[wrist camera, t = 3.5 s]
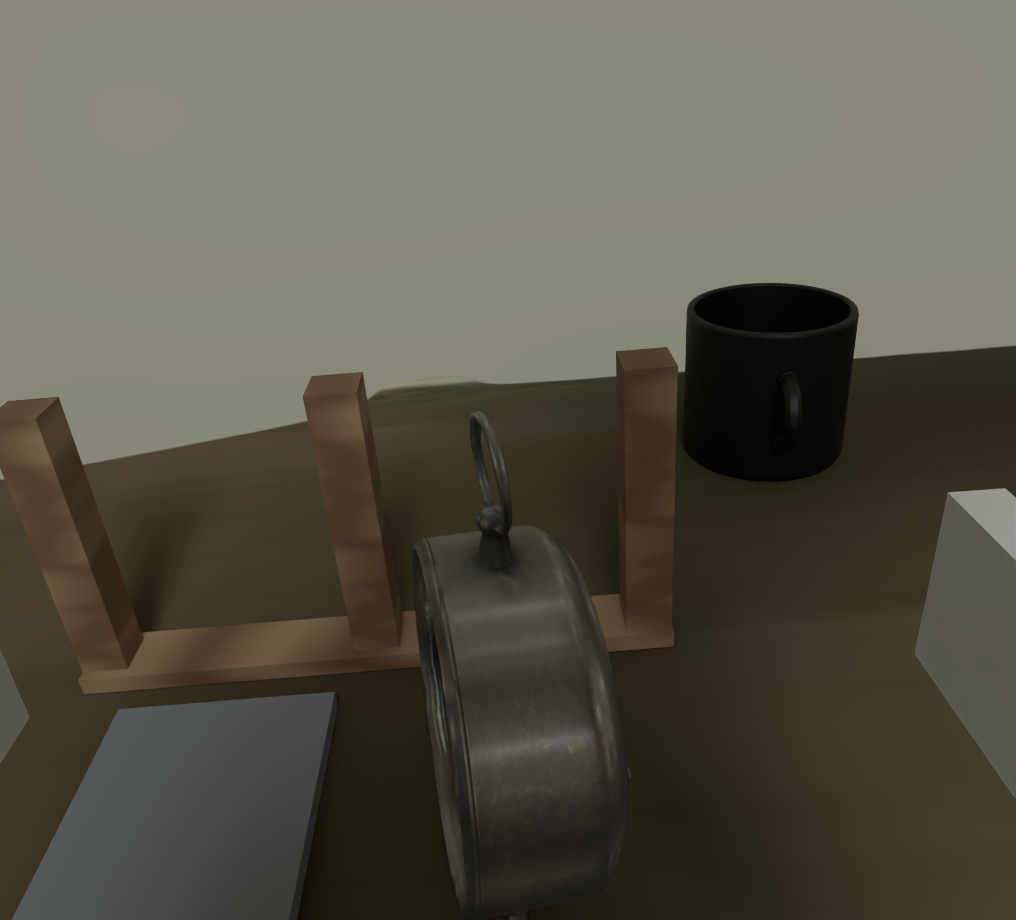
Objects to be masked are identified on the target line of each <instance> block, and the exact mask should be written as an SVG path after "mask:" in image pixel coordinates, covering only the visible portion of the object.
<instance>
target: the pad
mask: <svg viewBox="0 0 1016 920" xmlns="http://www.w3.org/2000/svg"><path fill="white" fill-rule="evenodd" d="M337 710H338V703H337V698H336V694H335V692H326V693H314V694H301V695H289V696H277V697H264V698H252V699H240V700H227V701H215V702H203V703H190V704H178V705H166V706H153V707H141V708H129V709H118V711H117V713H116V715H115V717H114V719H113V721H112V723H111V725H110V727H109V729H108V731H107V733H106V735H105V737H104V739H103V741H102V743H101V745H100V747H99V749H98V751H97V753H96V755H95V757H94V759H93V761H92V763H91V765H90V766H89V768H88V770H87V772H86V774H85V776H84V778H83V780H82V782H81V784H80V786H79V788H78V790H77V792H76V794H75V796H74V798H73V800H72V802H71V804H70V806H69V808H68V810H67V812H66V814H65V816H64V818H63V820H62V822H61V824H60V826H59V828H58V830H57V832H56V834H55V836H54V838H53V840H52V842H51V843H50V845H49V847H48V849H47V851H46V853H45V855H44V857H43V859H42V861H41V863H40V865H39V867H38V869H37V871H36V873H35V875H34V877H33V879H32V881H31V883H30V885H29V887H28V889H27V891H26V893H25V895H24V897H23V899H22V901H21V903H20V905H19V907H18V909H17V911H16V913H15V915H14V917H13V919H12V920H297V917H298V912H299V906H300V901H301V896H302V891H303V886H304V881H305V875H306V870H307V865H308V860H309V855H310V850H311V844H312V839H313V834H314V829H315V824H316V819H317V813H318V808H319V803H320V798H321V793H322V788H323V782H324V777H325V772H326V767H327V762H328V756H329V751H330V746H331V741H332V736H333V731H334V725H335V720H336V715H337Z"/></svg>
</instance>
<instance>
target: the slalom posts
mask: <svg viewBox="0 0 1016 920" xmlns="http://www.w3.org/2000/svg"><path fill="white" fill-rule="evenodd" d="M616 368H617V370H616V373H617V446H618V519H619V592H620V594H611V595H598V596H591V598H592V601H593V603H594V606H595V609H596V612H597V615H598V618H599V621H600V624H601V628H602V631H603V634H604V637H605V641H606V645H607V649H608V652H612V651H624V650H637V649H649V648H661V647H674V630H673V627H672V600H673V556H674V512H675V468H676V424H677V380H678V366H677V364H676V362H675V361H674V359H673V357H672V355H671V353H670V352H669V350H668V348H667V347H664V348H652V349H639V350H627V351H616ZM303 400H304V405H305V410H306V415H307V420H308V425H309V430H310V434H311V439H312V444H313V449H314V454H315V459H316V464H317V469H318V474H319V479H320V484H321V488H322V493H323V498H324V503H325V508H326V513H327V518H328V523H329V528H330V533H331V538H332V542H333V547H334V552H335V557H336V562H337V567H338V572H339V577H340V582H341V587H342V592H343V597H344V601H345V606H346V611H347V616H340V617H327V618H315V619H303V620H290V621H278V622H266V623H254V624H241V625H229V626H217V627H204V628H192V629H180V630H167V631H155V632H143V633H141V630H140V627H139V625H138V622H137V619H136V616H135V613H134V610H133V607H132V605H131V602H130V599H129V596H128V593H127V590H126V588H125V585H124V582H123V579H122V576H121V573H120V570H119V568H118V565H117V562H116V559H115V556H114V553H113V551H112V548H111V545H110V542H109V539H108V536H107V533H106V531H105V528H104V525H103V522H102V519H101V516H100V514H99V511H98V508H97V505H96V502H95V499H94V496H93V494H92V491H91V488H90V485H89V482H88V479H87V477H86V474H85V471H84V468H83V465H82V462H81V460H80V457H79V454H78V451H77V448H76V445H75V442H74V440H73V437H72V434H71V431H70V428H69V425H68V423H67V420H66V417H65V414H64V411H63V408H62V405H61V403H60V400H59V397H52V398H40V399H29V400H16V401H8V402H7V403H5V404H4V405H3V406H2V407H0V469H1V471H2V474H3V476H4V479H5V481H6V484H7V486H8V489H9V491H10V494H11V496H12V499H13V501H14V503H15V506H16V508H17V511H18V513H19V516H20V518H21V521H22V523H23V526H24V528H25V531H26V533H27V536H28V538H29V541H30V543H31V546H32V548H33V550H34V553H35V555H36V558H37V560H38V563H39V565H40V568H41V570H42V573H43V575H44V578H45V580H46V583H47V585H48V588H49V590H50V593H51V595H52V598H53V600H54V602H55V605H56V607H57V610H58V612H59V615H60V617H61V620H62V622H63V625H64V627H65V630H66V632H67V635H68V637H69V640H70V642H71V645H72V647H73V650H74V652H75V654H76V657H77V659H78V662H79V664H80V667H81V669H82V672H83V673H82V675H81V677H80V678H79V680H78V681H79V684H80V686H81V689H82V691H83V694H94V693H106V692H118V691H131V690H143V689H155V688H168V687H180V686H192V685H205V684H217V683H229V682H242V681H254V680H266V679H279V678H291V677H303V676H316V675H328V674H340V673H353V672H365V671H377V670H390V669H402V668H415V667H421V664H420V654H419V644H418V635H417V628H416V614H415V610H414V611H402V608H401V602H400V596H399V590H398V584H397V578H396V572H395V566H394V560H393V554H392V548H391V542H390V536H389V530H388V523H387V517H386V511H385V505H384V499H383V493H382V487H381V481H380V475H379V469H378V463H377V457H376V451H375V445H374V439H373V433H372V427H371V420H370V414H369V408H368V402H367V396H366V390H365V384H364V378H363V372H359V373H348V374H347V373H346V374H334V375H322V376H312V377H311V379H310V382H309V384H308V386H307V388H306V391H305V393H304V395H303Z"/></svg>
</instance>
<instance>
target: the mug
mask: <svg viewBox="0 0 1016 920" xmlns="http://www.w3.org/2000/svg"><path fill="white" fill-rule="evenodd" d="M858 316H859V313H858V308H857V306H856V305H855V303H854V302H853V301H851V300H850V299H848V298H847V297H845V296H843V295H840V294H838V293H835V292H832V291H829V290H826V289H821V288H816V287H811V286H805V285H797V284H785V283H784V284H783V283H753V284H742V285H734V286H728V287H724V288H719V289H715V290H711V291H708V292H706V293H703V294H701V295H699V296H697V297H696V298H694V299H693V300H692V301H691V302H690V303H689V305H688V308H687V326H686V362H685V365H686V366H685V399H684V435H683V439H684V444H685V446H686V448H687V451H688V452H689V454H690V455H691V456H692V458H694V459H695V460H696V461H697V462H699V463H700V464H702V465H703V466H705V467H707V468H709V469H711V470H714V471H716V472H719V473H722V474H725V475H729V476H733V477H738V478H743V479H750V480H761V481H780V480H791V479H797V478H803V477H807V476H810V475H813V474H816V473H819V472H821V471H823V470H825V469H826V468H828V467H829V466H830V465H832V464H833V463H834V462H835V460H836V459H837V457H838V456H839V454H840V452H841V449H842V443H843V435H844V427H845V419H846V411H847V403H848V396H849V388H850V380H851V372H852V364H853V355H854V348H855V339H856V332H857V324H858Z"/></svg>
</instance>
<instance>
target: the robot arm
mask: <svg viewBox="0 0 1016 920" xmlns="http://www.w3.org/2000/svg"><path fill="white" fill-rule="evenodd" d="M915 655H916V656H917V658H918V659H919V661H920V662H921V663H922V665H923V666H924V668H925V669H926V671H927V672H928V674H929V675H930V676H931V678H932V679H933V681H934V682H935V684H936V685H937V687H938V688H939V689H940V691H941V692H942V694H943V695H944V697H945V698H946V700H947V701H948V702H949V704H950V705H951V707H952V708H953V710H954V711H955V713H956V714H957V715H958V717H959V718H960V720H961V721H962V723H963V724H964V726H965V727H966V728H967V730H968V731H969V733H970V734H971V736H972V737H973V739H974V740H975V741H976V743H977V744H978V746H979V747H980V749H981V750H982V752H983V753H984V754H985V756H986V757H987V759H988V760H989V762H990V763H991V765H992V766H993V767H994V769H995V770H996V772H997V773H998V775H999V776H1000V777H1001V779H1002V780H1003V782H1004V783H1005V785H1006V786H1007V788H1008V789H1009V790H1010V792H1011V793H1012V795H1013V796H1014V798H1015V799H1016V498H1015V497H1014V496H1013V495H1012V494H1011V493H1010V492H1009V491H1008V490H1006V489H1005V488H1004V489H990V490H976V491H962V492H948V494H947V499H946V504H945V509H944V514H943V519H942V524H941V528H940V533H939V538H938V543H937V548H936V553H935V558H934V562H933V567H932V572H931V577H930V582H929V587H928V592H927V596H926V601H925V606H924V611H923V616H922V621H921V626H920V630H919V635H918V640H917V645H916V650H915ZM29 718H30V717H29V715H28V713H27V710H26V708H25V706H24V703H23V701H22V699H21V697H20V694H19V692H18V690H17V687H16V685H15V683H14V680H13V678H12V676H11V674H10V671H9V669H8V667H7V664H6V662H5V660H4V657H3V655H2V653H1V650H0V763H1V762H2V760H3V759H4V757H5V755H6V754H7V752H8V751H9V749H10V748H11V746H12V744H13V743H14V741H15V740H16V738H17V737H18V735H19V733H20V732H21V730H22V729H23V727H24V726H25V724H26V722H27V721H28V719H29Z"/></svg>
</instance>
